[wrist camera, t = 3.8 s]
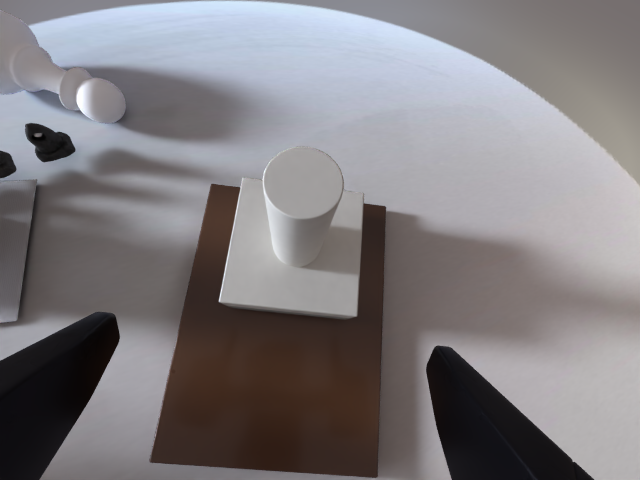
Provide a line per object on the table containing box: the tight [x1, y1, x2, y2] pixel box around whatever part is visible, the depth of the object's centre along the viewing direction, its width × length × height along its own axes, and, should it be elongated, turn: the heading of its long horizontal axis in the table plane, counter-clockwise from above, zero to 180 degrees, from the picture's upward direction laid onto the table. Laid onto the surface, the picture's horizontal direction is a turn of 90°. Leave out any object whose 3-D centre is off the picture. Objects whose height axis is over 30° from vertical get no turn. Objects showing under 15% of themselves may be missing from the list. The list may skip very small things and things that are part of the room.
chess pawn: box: [0, 10, 126, 124], centre depth 20 cm, size 5×5×9 cm
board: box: [149, 184, 386, 478], centre depth 19 cm, size 16×12×1 cm
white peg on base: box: [219, 147, 364, 320], centre depth 15 cm, size 7×7×10 cm
